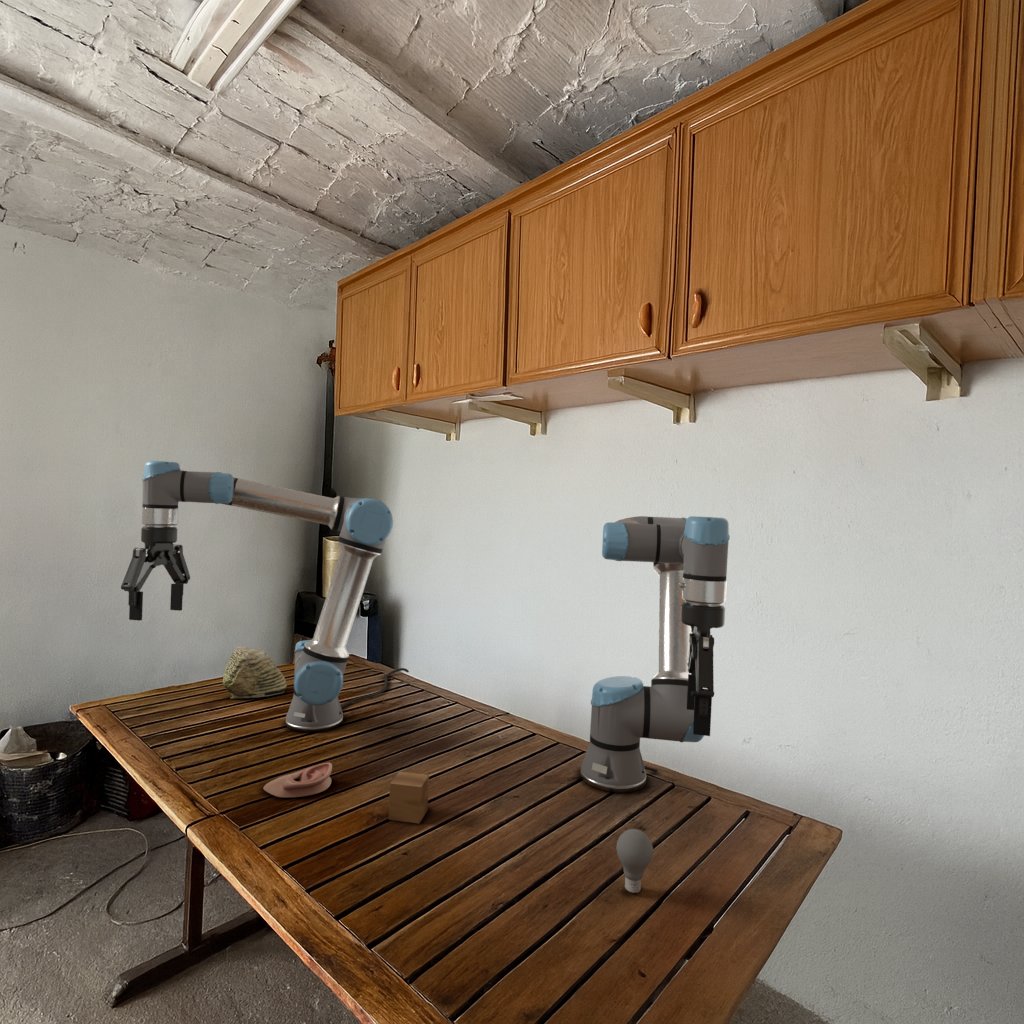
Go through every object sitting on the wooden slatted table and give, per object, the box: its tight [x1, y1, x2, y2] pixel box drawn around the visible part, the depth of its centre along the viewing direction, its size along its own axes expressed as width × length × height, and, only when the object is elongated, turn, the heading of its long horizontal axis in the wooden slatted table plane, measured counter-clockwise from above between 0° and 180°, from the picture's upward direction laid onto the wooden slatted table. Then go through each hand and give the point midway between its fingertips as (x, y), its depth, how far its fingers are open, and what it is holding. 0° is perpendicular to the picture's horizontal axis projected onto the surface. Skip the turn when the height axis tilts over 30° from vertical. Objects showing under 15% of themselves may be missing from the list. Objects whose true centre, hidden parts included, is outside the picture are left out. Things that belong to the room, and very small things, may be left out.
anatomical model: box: [262, 762, 333, 799], centre depth 138 cm, size 13×4×12 cm
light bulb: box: [615, 828, 654, 894], centre depth 106 cm, size 6×6×10 cm
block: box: [388, 771, 430, 824], centre depth 128 cm, size 6×6×7 cm
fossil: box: [222, 646, 288, 699], centre depth 198 cm, size 9×18×15 cm, turn 132°
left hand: (156, 614), depth 151 cm, fingers open, 13 cm apart
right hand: (697, 721), depth 113 cm, fingers open, 13 cm apart
